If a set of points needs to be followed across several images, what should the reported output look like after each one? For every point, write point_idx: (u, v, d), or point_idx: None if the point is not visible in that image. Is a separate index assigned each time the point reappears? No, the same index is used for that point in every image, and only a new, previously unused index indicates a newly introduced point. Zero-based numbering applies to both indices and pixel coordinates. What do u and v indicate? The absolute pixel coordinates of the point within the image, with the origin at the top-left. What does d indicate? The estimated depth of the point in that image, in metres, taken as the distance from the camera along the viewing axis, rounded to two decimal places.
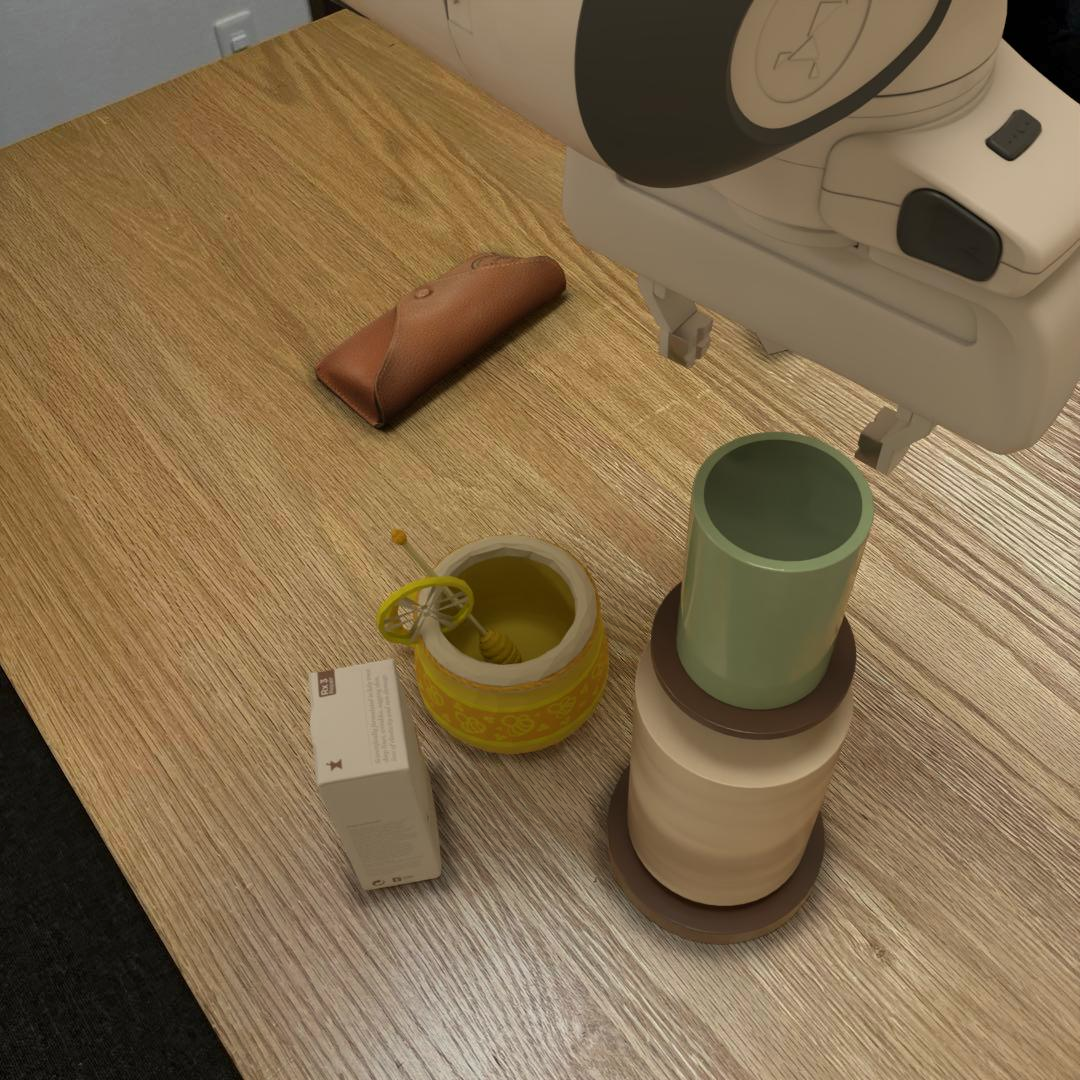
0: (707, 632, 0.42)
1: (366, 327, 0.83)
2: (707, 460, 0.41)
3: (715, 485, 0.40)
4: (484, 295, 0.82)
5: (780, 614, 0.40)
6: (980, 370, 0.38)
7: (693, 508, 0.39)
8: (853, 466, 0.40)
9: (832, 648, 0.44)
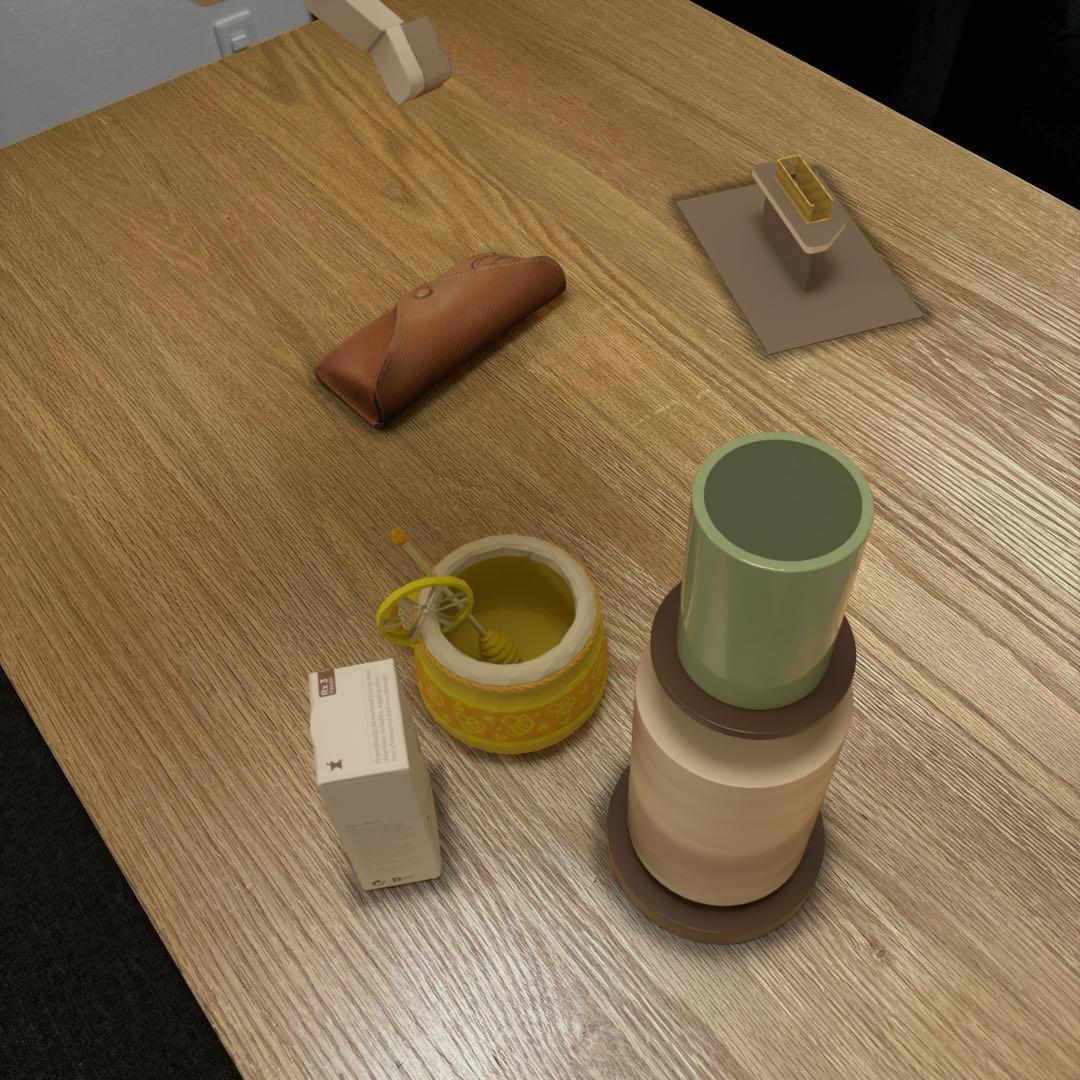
0: (707, 632, 0.42)
1: (366, 327, 0.83)
2: (707, 460, 0.41)
3: (715, 485, 0.40)
4: (484, 295, 0.82)
5: (780, 614, 0.40)
6: None
7: (693, 508, 0.39)
8: (853, 466, 0.40)
9: (832, 648, 0.44)
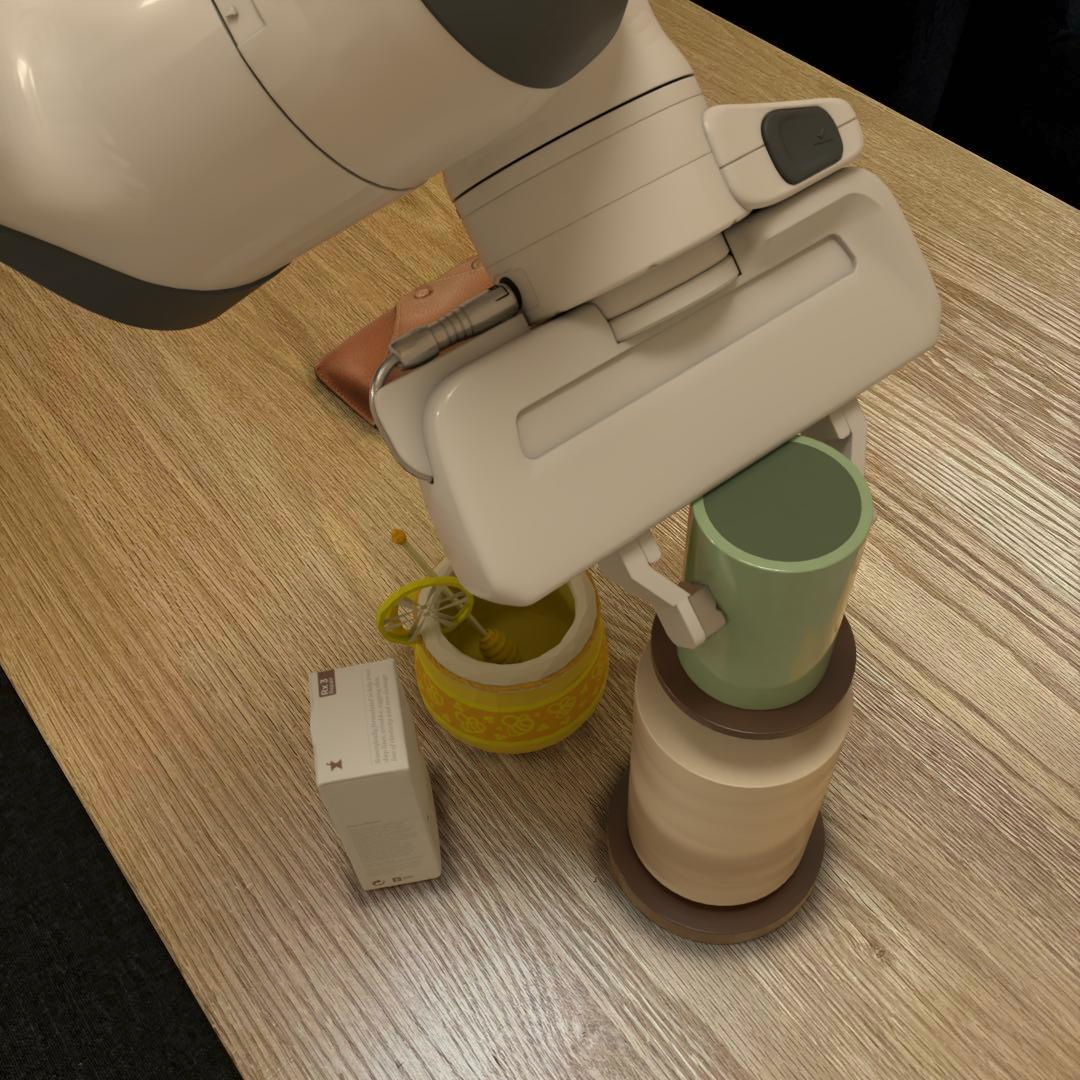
0: None
1: (366, 327, 0.83)
2: None
3: None
4: None
5: (779, 615, 0.40)
6: (876, 278, 0.42)
7: (692, 509, 0.39)
8: (852, 466, 0.40)
9: (831, 648, 0.44)
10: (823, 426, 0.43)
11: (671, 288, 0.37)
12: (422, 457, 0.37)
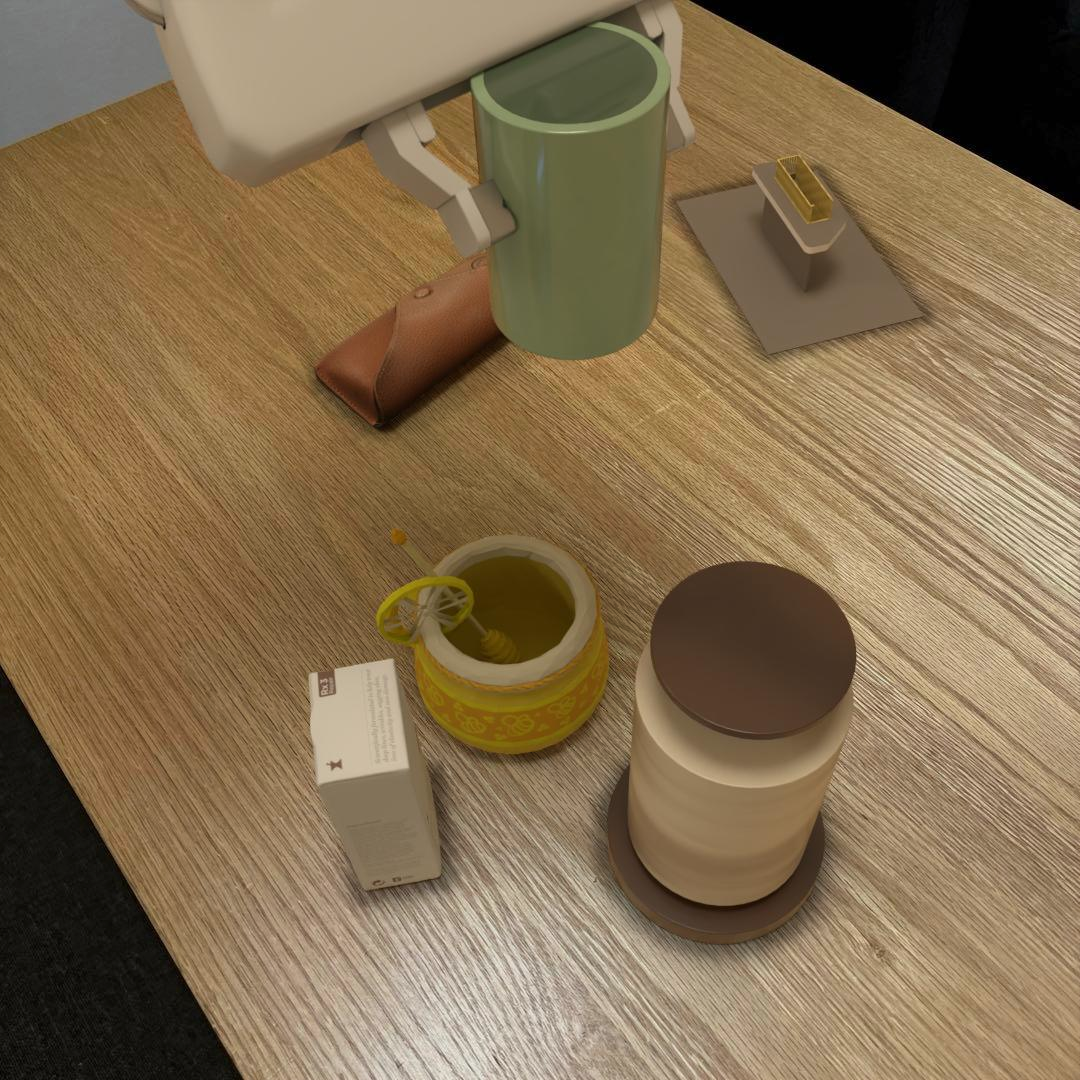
0: (503, 253, 0.38)
1: (366, 327, 0.83)
2: None
3: (499, 65, 0.36)
4: (483, 295, 0.82)
5: (568, 204, 0.36)
6: None
7: (471, 84, 0.35)
8: (653, 46, 0.36)
9: (649, 284, 0.40)
10: (633, 27, 0.39)
11: None
12: None
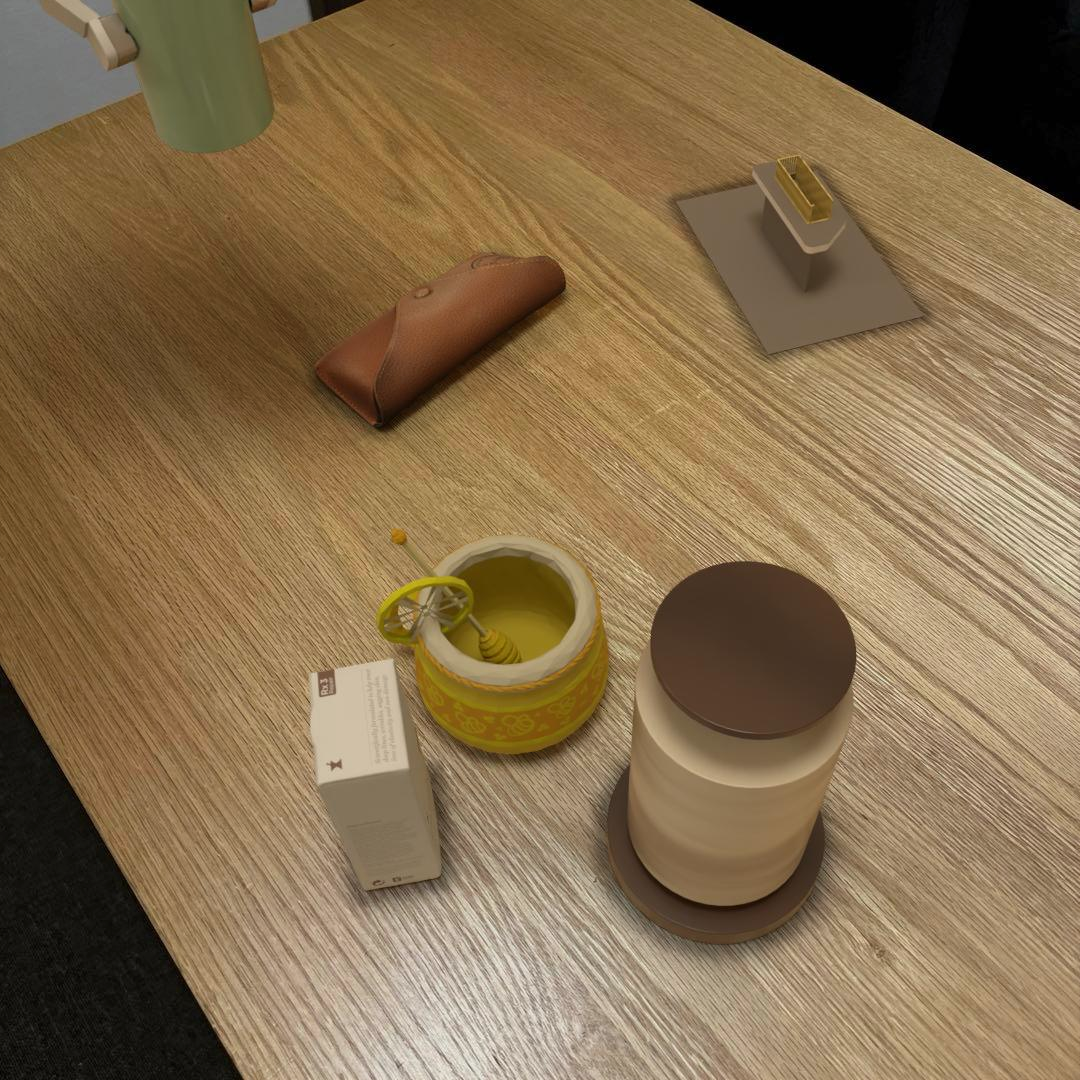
0: (138, 69, 0.55)
1: (366, 326, 0.83)
2: None
3: None
4: (483, 295, 0.82)
5: (163, 27, 0.53)
6: None
7: None
8: None
9: (250, 97, 0.57)
10: None
11: None
12: None
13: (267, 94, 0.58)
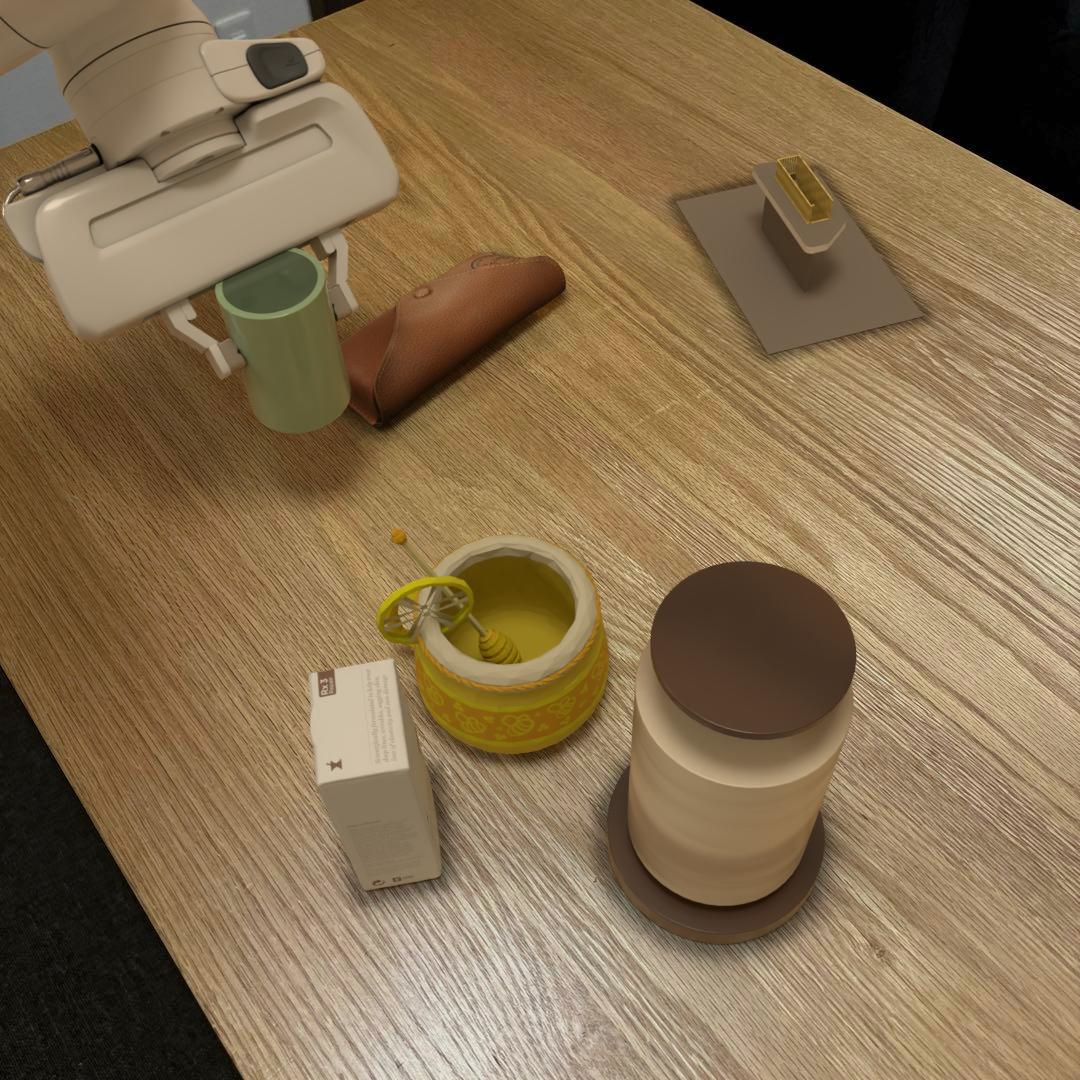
0: (244, 374, 0.68)
1: (365, 326, 0.83)
2: None
3: (233, 275, 0.65)
4: (483, 295, 0.82)
5: (270, 353, 0.65)
6: (347, 152, 0.67)
7: (215, 287, 0.65)
8: (319, 264, 0.65)
9: (334, 390, 0.69)
10: (320, 246, 0.68)
11: (185, 148, 0.62)
12: (34, 247, 0.62)
13: (346, 382, 0.71)
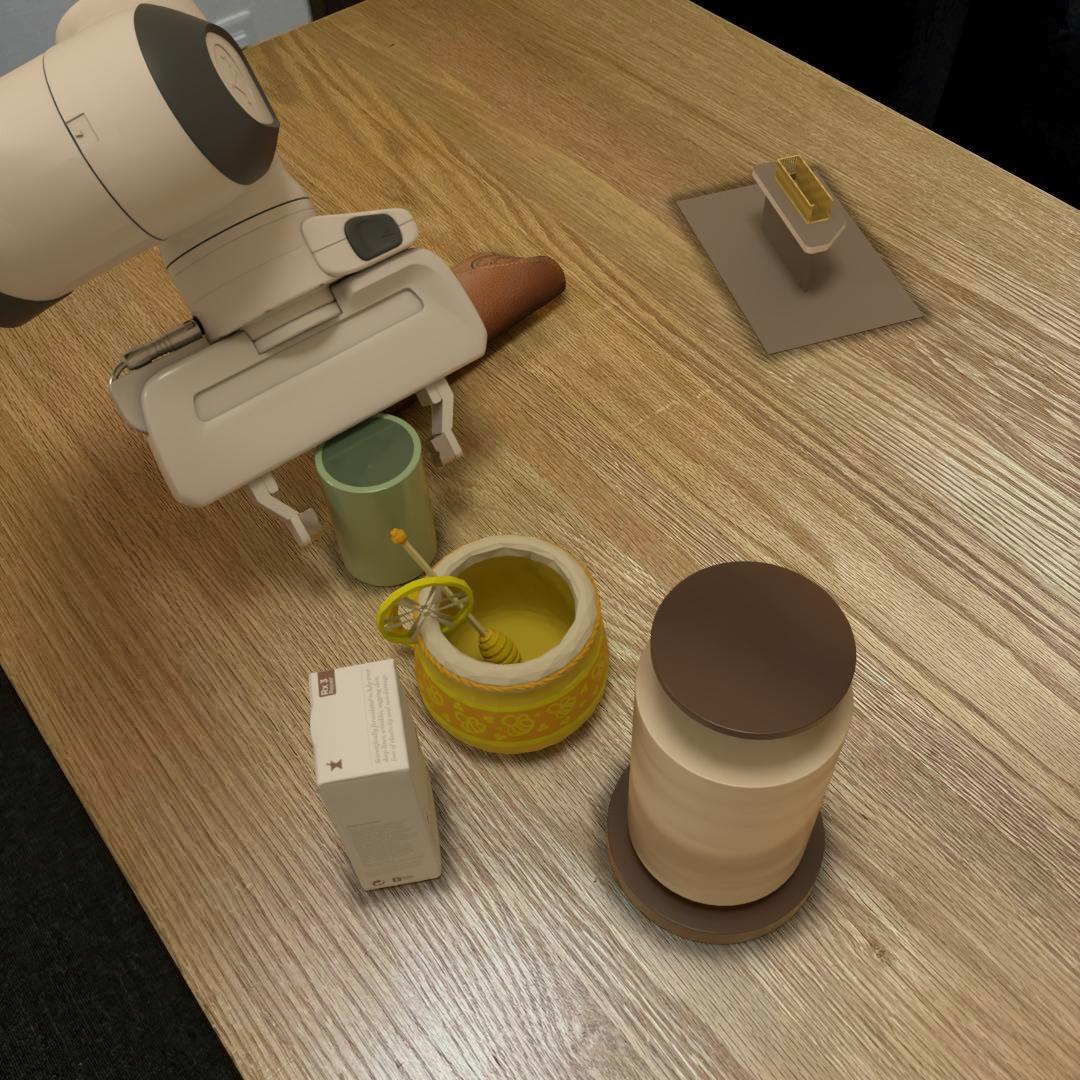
0: (339, 535, 0.70)
1: None
2: None
3: (331, 444, 0.67)
4: (483, 294, 0.82)
5: (367, 520, 0.67)
6: (437, 314, 0.69)
7: None
8: (414, 433, 0.67)
9: (424, 547, 0.71)
10: (426, 396, 0.70)
11: (286, 322, 0.64)
12: (140, 420, 0.64)
13: (434, 536, 0.73)
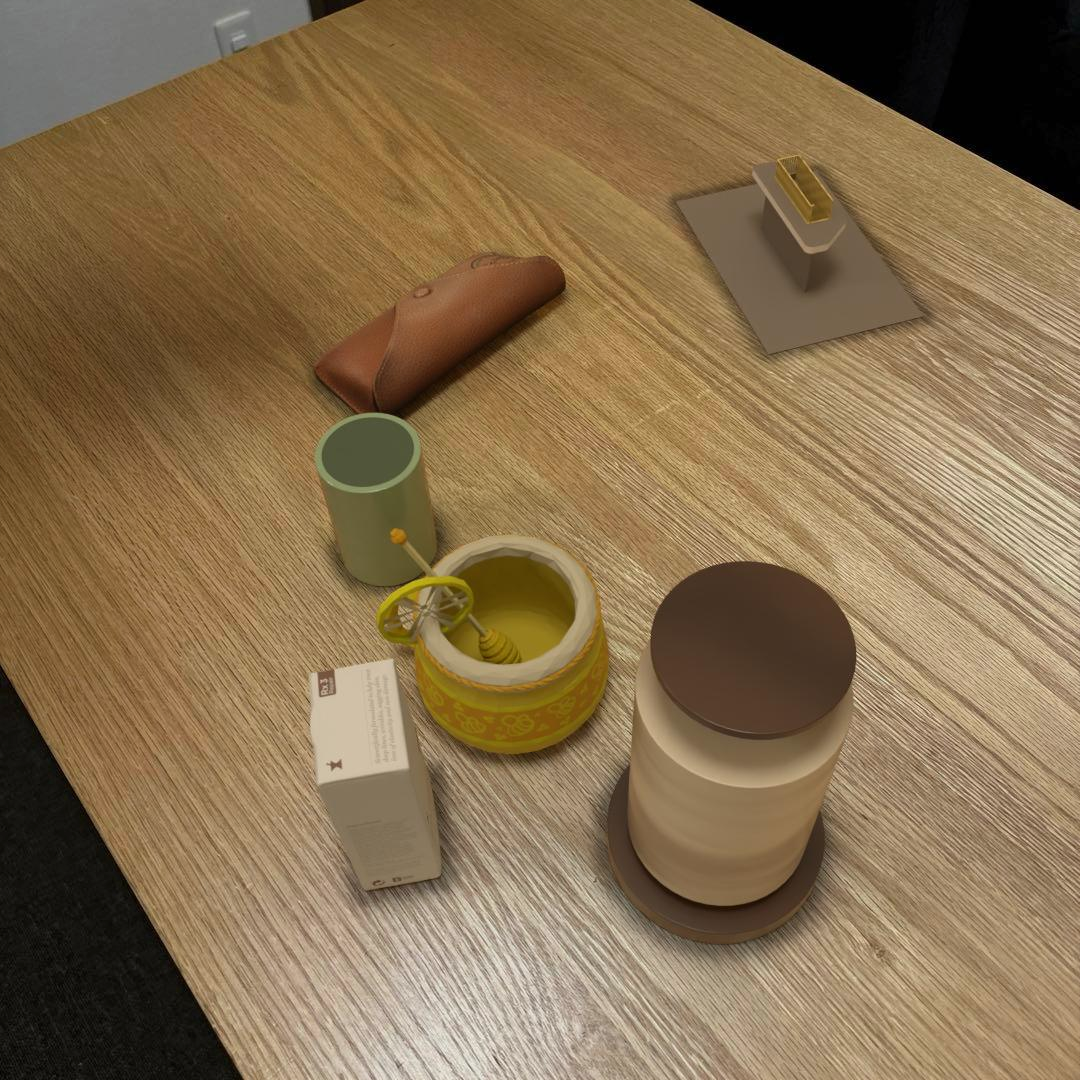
0: (339, 535, 0.70)
1: (365, 326, 0.83)
2: (329, 429, 0.68)
3: (331, 444, 0.67)
4: (483, 294, 0.82)
5: (367, 520, 0.67)
6: None
7: None
8: (414, 433, 0.67)
9: (424, 547, 0.71)
10: None
11: None
12: None
13: (434, 536, 0.73)
